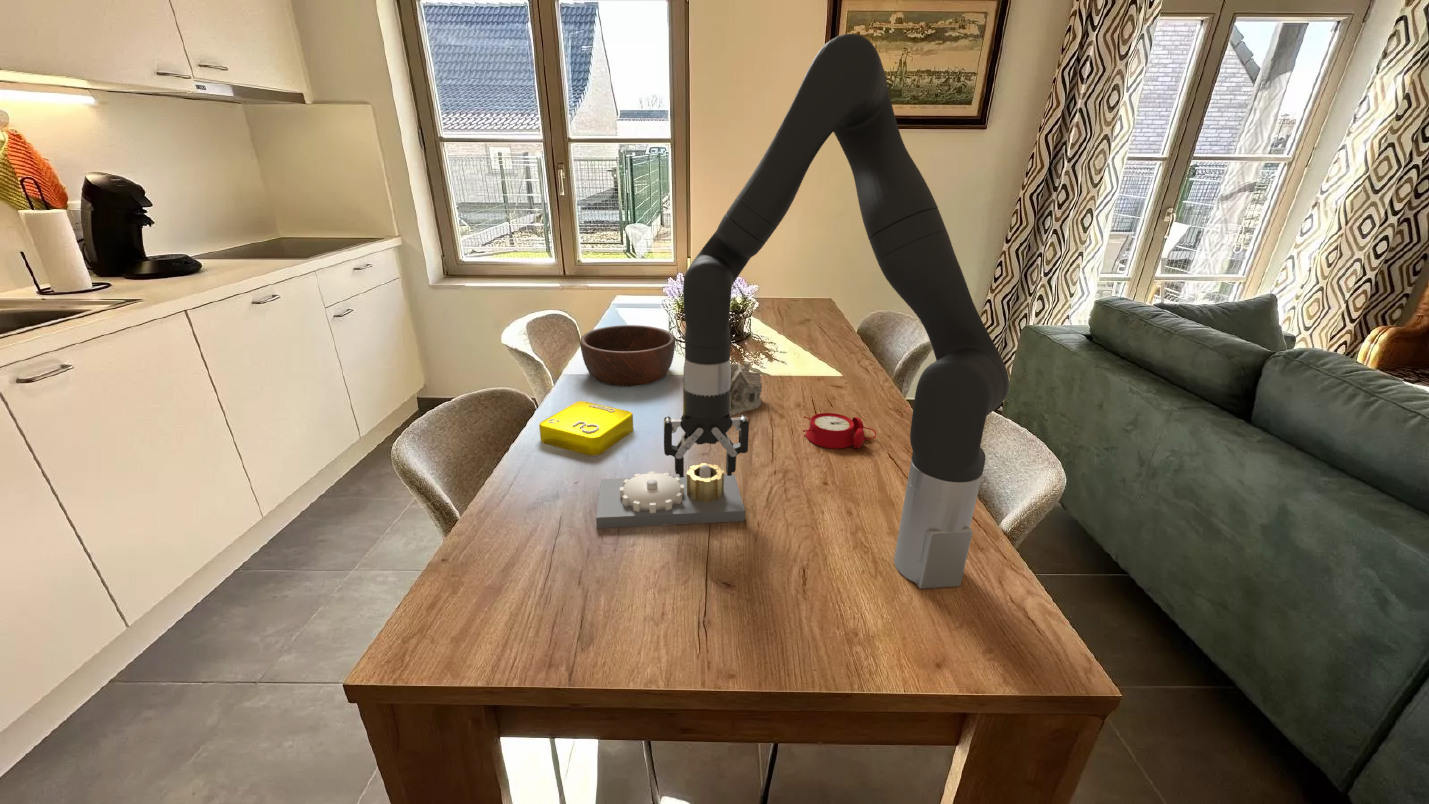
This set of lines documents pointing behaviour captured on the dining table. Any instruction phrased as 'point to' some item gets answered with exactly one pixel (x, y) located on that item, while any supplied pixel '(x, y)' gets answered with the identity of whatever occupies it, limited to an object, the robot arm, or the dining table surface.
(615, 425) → the element tile
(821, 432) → the alarm clock
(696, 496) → the brass gear
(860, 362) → the dining table surface
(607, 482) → the gear board
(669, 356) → the wooden bowl
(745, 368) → the ceramic cottage
